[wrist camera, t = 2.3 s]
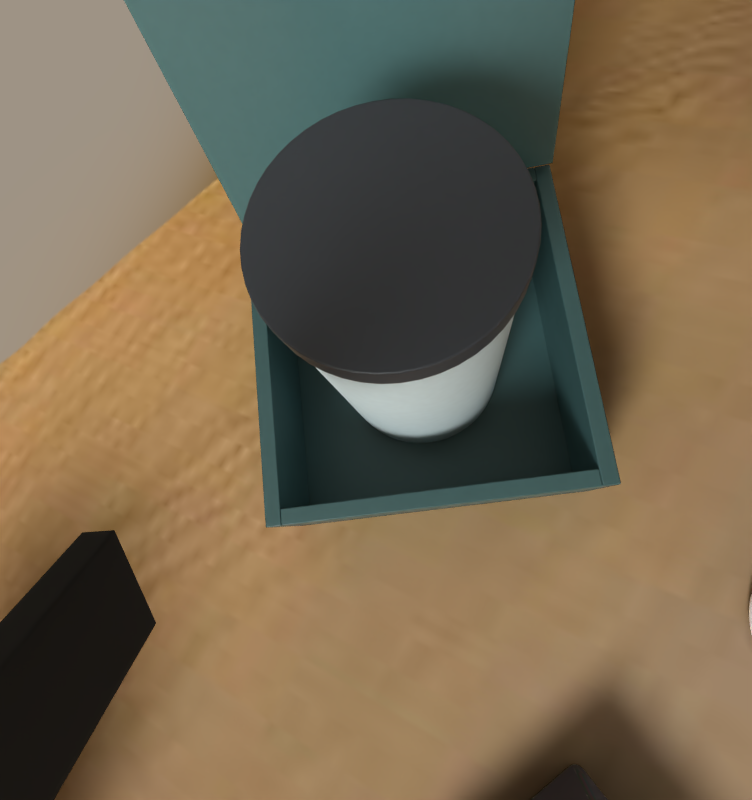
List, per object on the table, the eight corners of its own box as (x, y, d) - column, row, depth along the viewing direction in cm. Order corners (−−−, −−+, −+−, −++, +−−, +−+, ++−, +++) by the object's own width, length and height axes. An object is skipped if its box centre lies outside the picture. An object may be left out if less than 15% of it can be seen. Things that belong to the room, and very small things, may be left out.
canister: (518, 317, 31) (577, 122, 16) (474, 467, 30) (492, 413, 14) (371, 281, 33) (296, 77, 18) (323, 420, 32) (196, 329, 16)
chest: (587, 490, 29) (621, 483, 23) (302, 525, 31) (265, 527, 25) (533, 228, 33) (549, 163, 27) (282, 274, 35) (246, 223, 29)
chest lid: (647, -517, 11) (636, -519, 12) (-28, -285, 13) (-19, -292, 14) (552, 163, 27) (549, 153, 27) (242, 224, 29) (243, 214, 29)
